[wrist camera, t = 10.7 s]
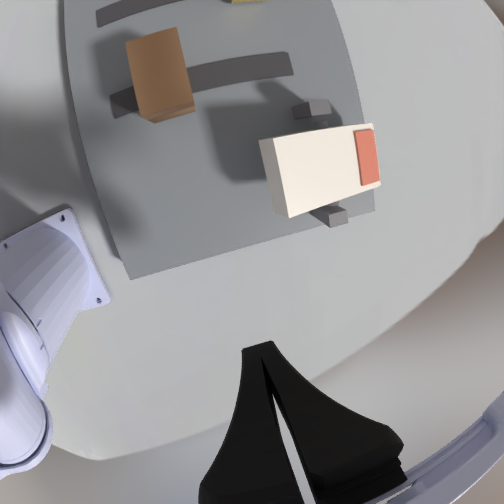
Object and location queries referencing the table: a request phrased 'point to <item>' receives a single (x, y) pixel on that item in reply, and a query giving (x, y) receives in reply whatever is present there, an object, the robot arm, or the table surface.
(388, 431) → the robot arm
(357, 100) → the console
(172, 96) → the walnut knob
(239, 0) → the tan wooden block
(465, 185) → the table surface
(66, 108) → the table surface
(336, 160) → the rocker
